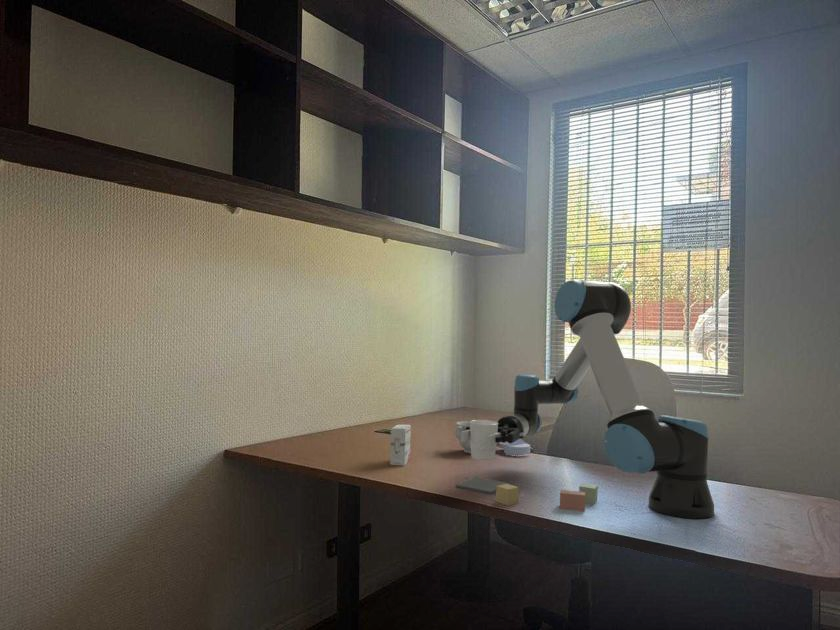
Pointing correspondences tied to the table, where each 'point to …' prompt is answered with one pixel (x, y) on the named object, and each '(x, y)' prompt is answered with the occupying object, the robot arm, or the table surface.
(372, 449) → the table surface
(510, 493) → the mustard block
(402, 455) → the ink box
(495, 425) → the white cup
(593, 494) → the sage block
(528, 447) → the wedge on round base
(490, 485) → the slate coaster
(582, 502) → the brick-red long block
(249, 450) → the table surface
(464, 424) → the teacup
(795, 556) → the table surface
